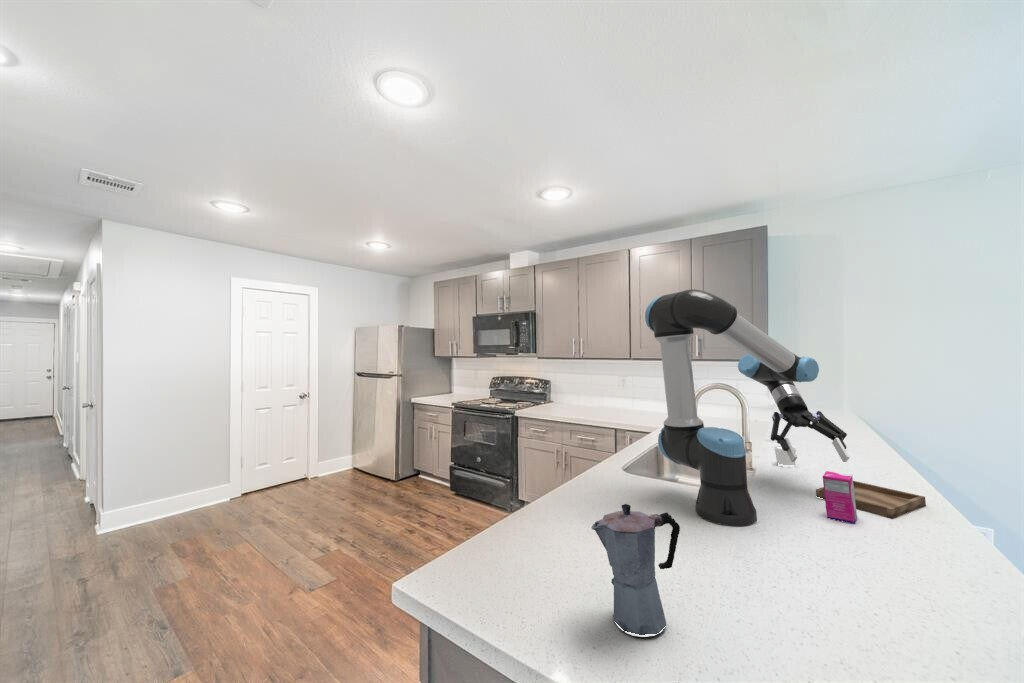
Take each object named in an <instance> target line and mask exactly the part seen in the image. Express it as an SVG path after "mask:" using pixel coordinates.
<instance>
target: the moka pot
mask: <svg viewBox="0 0 1024 683" xmlns="http://www.w3.org/2000/svg"><path fill="white" fill-rule="evenodd" d="M620 507H621V509H622V510H617V511H613V512H610V513H607V514H604V515H603V517H602V519H598V520H596V521H595V523H593V524H592V525H591V530H593V531H594V532H595V533H596V535H597V536H598V539H599V541H600V542H601V544H602V546H603V547H604V549H605V551H606V556H607V559H608V562H609V566H610V567H611V571H612V575H613V578H611V584H612V585H613V622H614V621H615V622H616V623H617V624H618V625H619V626H620V627H621V628H622V629H623V630H624V631H627V632H631V633H635V634H639V635H645V634H657V633H659V632H660V631H661V630H662V629H663V628H664V627H665V626H666V627H667V620H666V617H665V616H666V615H665V612H664V608H663V602H662V600H661V596H660V595H661V594H660V593H659V586H658V582H657V579H656V565H655V560H656V556H655V555H656V528H657V527H658V528H660V527H663V526H664V525H666V524H667V525H668V524H669V525H670V526H671V527H672V528H671V532H670V541H669V546H668V553H667V558H666V560H665V562H660V563H658V565H657V566H658V567H659V569H660V570H665V569H670V568H673V565H674V563H673V562H674V560H675V554H676V549H677V544H678V539H679V534H680V532H681V530H680V529H681V526H680V524H679V523H678V522H677V521H676V519H675V518H673V517H672V515H671V514H669V513H668V511H666V512H664V513H659V514H658V513H656V514H655V513H654V514H650V515H648V514H646V513H644V512H641V511H633V510H632V511H631V505H630V504H627V503H625V504H621V506H620ZM666 627H665V628H666Z"/></svg>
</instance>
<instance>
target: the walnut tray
mask: <svg viewBox="0 0 1024 683" xmlns="http://www.w3.org/2000/svg"><path fill="white" fill-rule="evenodd" d="M853 485H854V494H855V503H856V510H859V511H863V512H867V513H870V514H874V515H877V516H881V517H884V518H888V519H891V520H893V519H896V518H898V517H901V516H904V515H906V514H908V513H911V512H914V511H916V510H918V509H922V508H924V507H926V506H927V502H926V501H927V500H926V496H922V495H919V494H914V493H910V492H905V491H901V490H897V489H892V488H889V487H888V488H887V487H884V486H879V485H874V484H870V483H866V482H862V481H856V480H853ZM816 496H817V497H820V498H823V499H825V494H824V486H823V487H819V488H815V497H816ZM823 499H822V500H823Z"/></svg>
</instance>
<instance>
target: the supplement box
mask: <svg viewBox="0 0 1024 683" xmlns="http://www.w3.org/2000/svg"><path fill="white" fill-rule="evenodd" d="M853 478H854V477H853V473H845V472H835V471H830V470H826V471H825V472H824V474H823V475H822V483H823V487H824V494H825V500H824V502H825V512H826V518H827V519H828V518H830V519H829V520H833V519H835V520H834V521H837V520H839V521H838V522H842V521H843V523H846V524H851V525H855V524H856V521H857V519H858V513H857V509H856V503H855V494H854V485H853V481H854V479H853Z"/></svg>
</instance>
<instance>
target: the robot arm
mask: <svg viewBox="0 0 1024 683" xmlns="http://www.w3.org/2000/svg"><path fill="white" fill-rule="evenodd" d="M644 320H645V325H646V326H647V327H648V328H649V330H650V331H651V332H653V335H654V340H656V342H658V343H659V344H660V353H661V355H660V356H661V361H662V372H663V382H664V391H665V392H664V393H665V401H666V411H667V418H666V419H665V420H664V421H663V428H661V430H660V432H659V434H658V437H657V442H658V443H657V444H658V448H659V450H660V453H661V454H662V456H664V457H665V458H666V459H667V460H670V461H671V462H673V463H675V464H677V465H681V466H685V467H688V468H691V469H695V470H697V471H699V480H700V486H699V489H698V493H697V497H696V501H695V504H694V508H695V513H696V515H697V516H698V517H700V518H702V519H703V520H706V521H708V522H710V523H714V524H718V525H724V526H731V527H744V526H751V525H753V524H755V523H756V522H758V516H757V515H758V513H757V509H756V507H755V506H754V503H753V500H752V497H751V495H750V493H749V492H750V491H749V489H748V476H747V459H746V458H747V456H746V452H747V451H746V448H745V441H744V438H743V437H742V436H741V435H740V434H739V432H735V431H733V430H731V429H727V428H723V427H722V428H719V427H713V426H705V425H704V424H705V423H704V421H703V420H702V418H699V416H698V410H697V401H696V393H695V392H696V391H695V383H694V374H693V373H694V372H693V364H692V355H691V354H692V353H691V346H690V341H691V339H692V337H694V336H695V332H694V331H695V330H694V329H698V330H699V329H700V330H705V331H707V332H709V333H710V334H712V335H714V336H715V335H717V336H718V335H720V336H721V337H722V338H724V339H725V340H727V341H729V343H731V344H733V345H735V346H736V347H738V348H739V349H741V350H742V351H744V352H745V353H746V354H745V355H743V356H742V357H741V358H740V359H739V360H738V363H737V369H738V371H739V373H741V374H742V375H744V376H745V377H747V378H749V379H751V380H753V381H756V382H758V383H760V384H762V385H763V386H765V387H767V390H768V391H769V392H770V395H771V396H772V398H773V400H774V402H775V404H776V406H777V408H778V410H779V412H778V411H774V412H773V414H772V417H771V419H772V422H773V423H772V427H771V435H770V440H771V441H776V443H777V444H779V446H781V447H782V449H783V450H784V451H787V453H788V456H789V458H790V460H791V462H795V463H796V460H797V459H798V456H797V454H796V453H795V451H794V449H793V448H794V447H793V445H792V443H791V441H790V439H789V438H788V437H786V436H787V434H788V432H789V431H790V429H791V428H792V427H795V428H800V427H802V428H807V427H808V428H809V429H811V430H815V431H816V432H818V433H820V434H822V435H823V436H824V437H826V438H828V439H830V440H832V442H831V444H832V445H833V447H834V449H835V451H836V452H837V454H838V456H839V457H840V460H841V461H842V463H847V462H848V461H849V459H850V458H851V456H850V455H849V453H848V452H847V445H846V443H845V442H844V440H845V438H847V436H848V433H847V432H845V431H844V430H842V428H840V427H839V426H837V425H836V424H835V423H833V421H831V420H829V419H828V418H827V417H826V416H825V415H824V413H823V412H822V411H820V410H817V411H816V412H813V413H811V412H810V411H809V408H808V406H807V404H806V402H805V401H804V399H803V397H802V395H801V393H800V391H799V390H798V388H797V387H796V385H795V383H805V382H806V383H807V382H809V383H810V382H813V381H815V380H816V379H817V378H818V376H819V372H820V367H819V364H818V362H817V361H816V359H815V358H813V357H808V356H802V357H800V356H798V355H796V354H795V353H794V352H792V351H790V349H789V348H786V347H785V346H784V345H783V344H781V343H779V341H777V340H775V339H774V338H772V337H771V336H770V335H768V334H767V333H765V332H764V331H763V330H761V329H760V328H758V327H757V326H755V325H754V324H753V323H751V322H750V321H748V320H747V319H746V318H744V317H743V316H741V315H740V314H739V311H738V309H737V308H736V307H735V306H734V305H732V304H731V303H729V302H728V301H727V300H725V299H723V298H721V297H719V296H718V295H715V294H712V293H710V292H707V291H705V290H701V289H685V290H682V291H679V292H674V293H668V294H664V295H661V296H659V297H657V298H654V299H652V300H651V301H650V302H649V304H648V305H647V307H646V309H645V313H644ZM781 420H783V421H785V422H787V423H786V425H785V426H784V428H783V430H782V431H781V433H780V435H779V434H778V433H779V426H780V421H781ZM811 422H812V423H811Z"/></svg>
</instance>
